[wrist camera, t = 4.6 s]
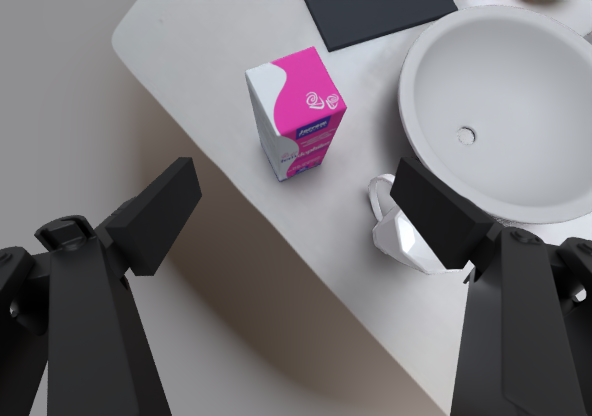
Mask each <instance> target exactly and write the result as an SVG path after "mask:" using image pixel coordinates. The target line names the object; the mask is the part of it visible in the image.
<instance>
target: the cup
mask: <svg viewBox="0 0 592 416" xmlns="http://www.w3.org/2000/svg"><path fill="white" fill-rule="evenodd" d="M394 179H395V176H393V175H391V174H383V175H380V176H378V177H376V178H374V179H372V180H371V181H370V183H369V196H370V201H371V205H372V209H373V211H374V214H375V217H376V219H377V220H378V223H377V224H376V226H375V227H374V228H373V230H372V234H373V241H374V245H375V246H376V247H377V248H379V249H380V250H381V251H382V252H384V253H385V254H389V255H390V256H392V257H393V258H395V259H396V260H397V261H399V262H401V263H403V264H406V265H408V266H410V267H413V268H415V269H417V270H419V271H421V272H423V273H426V274H438V273H447V272H457V271H461V270H462V269H450V270H446V268H445V267H444V266H443V264H442V263H441V262H440V260H439V259H438V258H437V257H436V255H435V254H434V253H433V251H432V250H431V249H430V247H429V246H428V245H427V243H426V242H425V241H424V239H423V238H422V237H421V235H420V234H419V233H418V231H417V230H416V229H415V227H414V226H413V225H412V223H411V222H410V221H409V219H408V218H407V217H406V215H405V214H404V213H403V211H402V210H401V209H400V207H399V206H398V205H397V206H395V207H394V208H393V209H391V210H390V211H389V212H388V214H387V215H386V216H385V217H384V216H383V215H382V212H381V209H380V206H379V202H378V197H377V192H376V183H377V181H378V180H383V181H386V182H388V183H390V184H391V185H393V182H394Z"/></svg>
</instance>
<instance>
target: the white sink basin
mask: <svg viewBox="0 0 592 416" xmlns="http://www.w3.org/2000/svg"><path fill="white" fill-rule="evenodd" d="M398 104H399V112H400V116H401V121H402V124H403V127H404V130H405V133H406V135H407V138H408V140H409V142H410V144H411V146H412V148H413V150H414V151H415V153H416V155H417V156H418V158H419V159H420V161H421V162H422V164H423V165H424V166H425V167H426V168H427V169H428V170H429V171H431V172H432V173H433V174H434V175H436V176H437V177H438V178H439V179H441V180H442V181H443V182H444V183H446V184H447V185H448V186H449V187H451V188H452V189H453V190H455V191H456V192H457V193H458V194H460V195H462V196H464V197H466V198H468V199H469V200H471V201H472V202H473V203H474V204H476V206H478V207H480V208H481V209H482V210H483V211H485V212H486V213H487V214H490V215H492V216H495V217H498V218H501V219H505V220H509V221H514V222H520V223H527V224H553V223H561V222H565V221H569V220H573V219H576V218H579V217H582V216H584V215H587V214H589V213H591V212H592V45H591V44H590V43H589V42H587V41H586V40H585V39H584V38H583V37H581V36H580V35H579V34H577V33H576V32H574V31H573V30H572V29H570V28H568V27H567V26H565V25H563V24H562V23H560V22H558V21H556V20H554V19H552V18H549V17H547V16H545V15H542V14H539V13H537V12H534V11H530V10H527V9H523V8H518V7H512V6H503V5H483V6H475V7H469V8H465V9H461V10H459V11H456V12H453V13H451V14H448V15H446V16H444V17H442V18H441V19H439V20H438V21H436V22H435V23H433V24H432V25H431V26H429V27H428V28H427V29H426V30H425V31H424V32H423V33H422V34H421V35H420V36H419V37H418V38H417V40H416V41H415V42H414V43H413V45H412V47H411V48H410V50H409V51H408V54H407V56H406V58H405V60H404V63H403V66H402V69H401V73H400V77H399V85H398ZM463 127H466V128H469V129H471V130H472V131H473V132H474V134H475V141H474V142H473V143H472V144H465V143H463V142H462V141H461V140H460V139H459V137H458V130H459V129H460V128H463Z"/></svg>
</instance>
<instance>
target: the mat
mask: <svg viewBox="0 0 592 416" xmlns="http://www.w3.org/2000/svg"><path fill="white" fill-rule="evenodd" d="M305 2H306V4H307V6H308V9H309V11H310V13H311V15H312V17H313V19H314V21H315V23H316V26H317V28H318V30H319V32H320V34H321V36H322V38H323V40H324V43H325V45H326V47H327V49H328V51H329V52H331V51H334V50H337V49H341V48H344V47H347V46H351V45H354V44H357V43H360V42H364V41H367V40H370V39H374V38H377V37H380V36H384V35H387V34H390V33H394V32H397V31H400V30H403V29H407V28H410V27H413V26H417V25H420V24H423V23H427V22H430V21H433V20H436V19H440V18H442V17H444V16H446V15H448V14H451V13H453V12H456V11H458V8H457V6H456V5H455V3H454V1H453V0H305Z"/></svg>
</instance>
